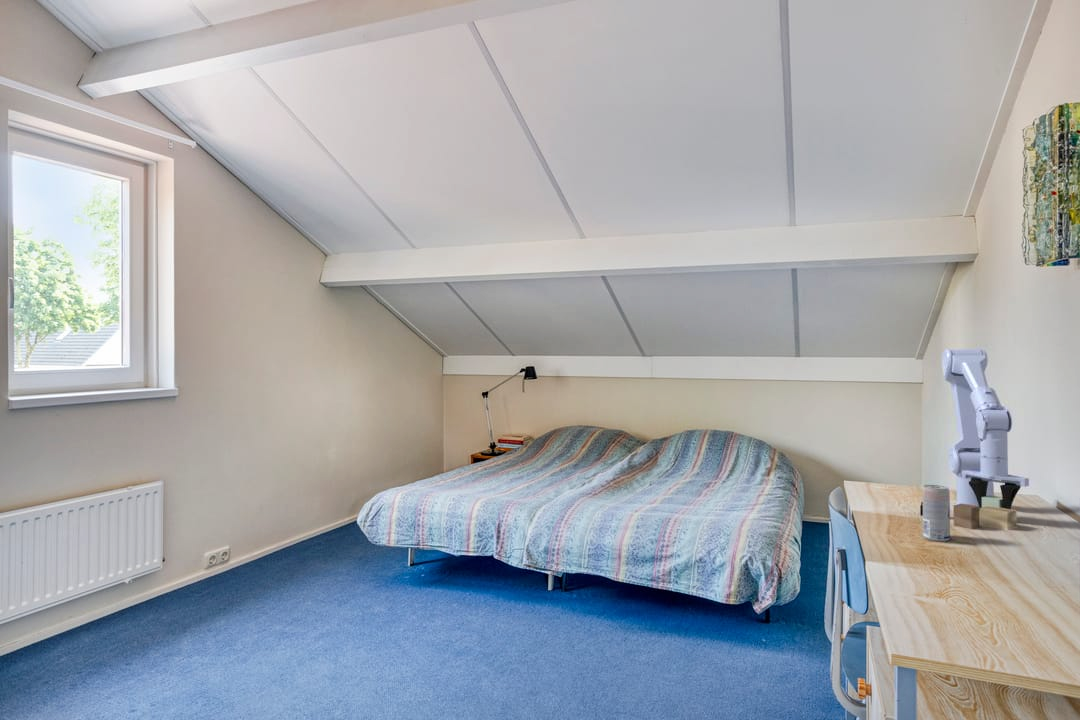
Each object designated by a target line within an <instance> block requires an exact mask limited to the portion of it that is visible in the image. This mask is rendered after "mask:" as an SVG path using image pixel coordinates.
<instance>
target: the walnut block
mask: <svg viewBox="0 0 1080 720" xmlns="http://www.w3.org/2000/svg"><path fill="white" fill-rule="evenodd" d="M953 527H959V528H964V529H969V530H973V529H977V528H980V527H981V525H980V506H975V505H969V504H963V503H962V504H957V505H954V506H953Z"/></svg>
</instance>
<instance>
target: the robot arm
mask: <svg viewBox="0 0 1080 720" xmlns="http://www.w3.org/2000/svg"><path fill="white" fill-rule="evenodd" d="M988 359H989V358H988V354H987V352H986V350H985V349H983V348H978V349H977V348H976V349H975V348H974V349H972V348H971V349H949V348H946V349H945V350H944V351H943V353H942V356H941V367H942V374H943V377H944V378H943V379H944V381H946V382H948V383H949V384H950V386H951V390H952V397H953V404H954V410H955V412H954V413H955V418H956V425H957V433H958V440H957V441H955V442H954V443H953V444H952V445H950V447H949V449H948V455H949V456H948V466H949V469H950V471H951V472H952V473H953V474H955V475H956V503H952V504H951V503H950V507H954V505H957V504H962V503H963V504H969V505H975V506H980V508H982V497H985V496H989V495H991V496H995V495H994V493H995V492H994V491H995V489H994V488H995V485H994V483H1000V485H999V488H1000V491H1001V492H1000V493H1001V497H1002V499H1003V508H1005V509H1011V510H1012V506H1013V505H1012V504H1013V503H1014V499H1015V498H1016V496H1017V494H1018V492H1019V491H1020V489H1021V487H1025V488H1027V487H1029V486H1030V481H1029V480H1030V479H1029V477H1024V476H1019V475H1012V474H1009V458H1008V456H1009V455H1008V451H1009V450H1008V449H1009V448H1008V445H1009V444H1008V433H1009V432H1011V430H1012V426H1013V419H1012V414H1011V412H1010V410H1009V409H1007V408H1006V407H1005V406H1002V404H1001V401H1000V399H999V397H998V395H997V393H996V391H995V389H994V388H992V387H990V386H989V385H988V382H987V378H986V373H985V372H986V368H987V366H988Z"/></svg>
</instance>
